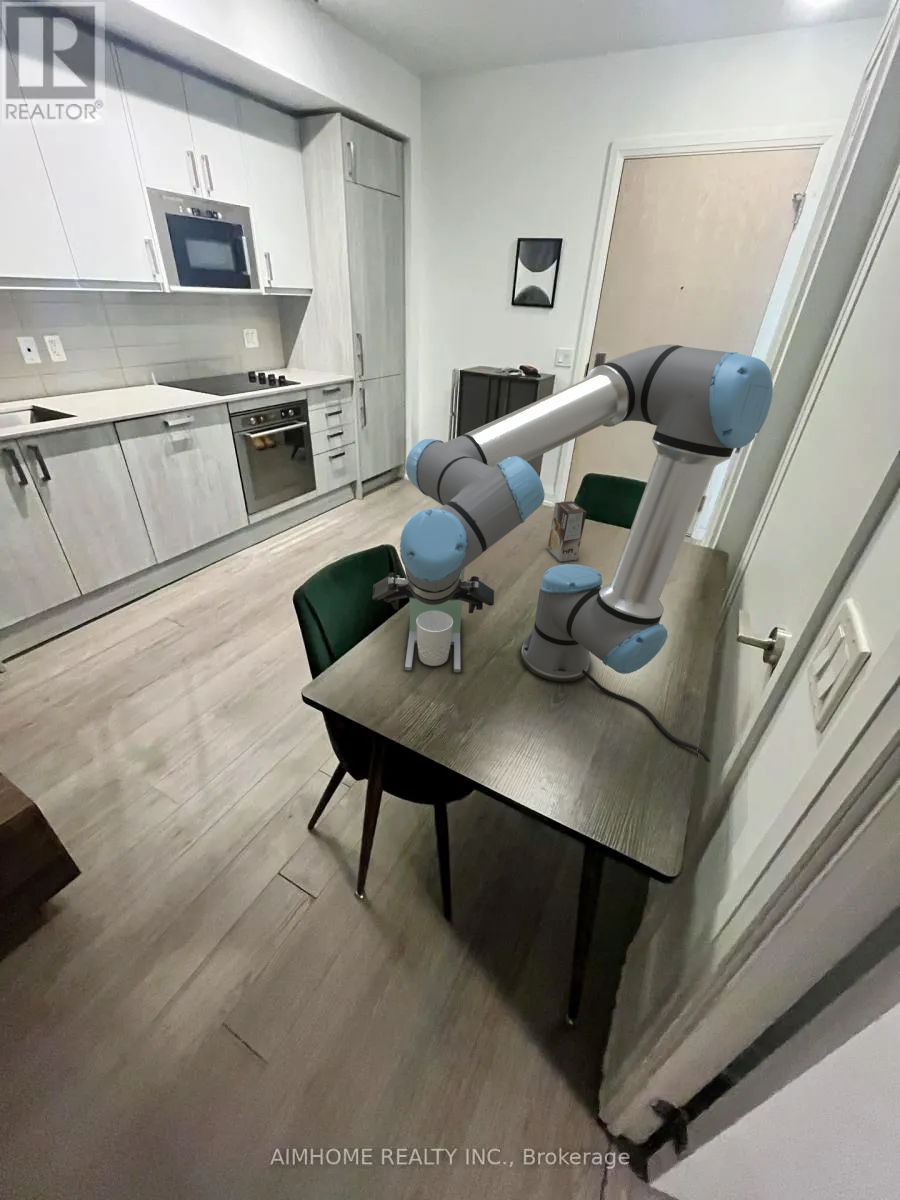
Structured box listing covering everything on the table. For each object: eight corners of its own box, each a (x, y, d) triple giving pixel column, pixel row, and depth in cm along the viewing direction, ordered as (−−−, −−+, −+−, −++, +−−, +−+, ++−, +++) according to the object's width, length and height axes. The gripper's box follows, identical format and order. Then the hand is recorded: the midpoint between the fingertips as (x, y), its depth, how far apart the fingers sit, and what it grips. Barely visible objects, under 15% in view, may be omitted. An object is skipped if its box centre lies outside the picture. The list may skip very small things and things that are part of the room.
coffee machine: (460, 672, 105) (466, 583, 93) (404, 670, 105) (404, 580, 93) (459, 619, 122) (465, 537, 110) (411, 617, 122) (412, 534, 110)
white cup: (446, 670, 106) (448, 634, 100) (412, 664, 107) (412, 628, 101) (454, 648, 112) (456, 613, 107) (420, 643, 113) (421, 607, 108)
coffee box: (577, 560, 152) (588, 512, 143) (559, 562, 150) (569, 513, 141) (563, 547, 159) (572, 500, 150) (546, 548, 157) (554, 502, 149)
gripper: (522, 552, 69) (502, 587, 90) (346, 544, 69) (367, 580, 89) (521, 604, 67) (501, 627, 88) (341, 595, 67) (363, 621, 88)
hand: (433, 604), depth 89 cm, fingers open, 13 cm apart
